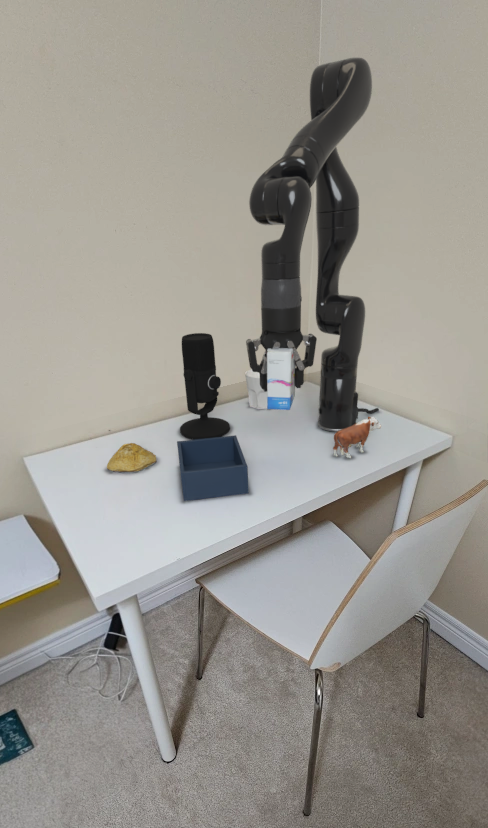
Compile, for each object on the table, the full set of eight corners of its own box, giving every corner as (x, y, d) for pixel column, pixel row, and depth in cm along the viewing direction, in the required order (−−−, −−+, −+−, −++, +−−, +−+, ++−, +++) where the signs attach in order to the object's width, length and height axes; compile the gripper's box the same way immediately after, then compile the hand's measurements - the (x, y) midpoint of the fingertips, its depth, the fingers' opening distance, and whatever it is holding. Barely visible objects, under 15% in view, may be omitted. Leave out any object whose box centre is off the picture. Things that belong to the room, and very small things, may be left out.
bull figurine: (381, 448, 116) (385, 417, 112) (338, 463, 110) (340, 430, 106) (369, 442, 119) (372, 412, 115) (326, 456, 114) (328, 424, 110)
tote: (237, 460, 113) (236, 435, 110) (248, 493, 100) (247, 465, 97) (180, 466, 112) (176, 441, 108) (183, 501, 98) (180, 473, 95)
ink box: (291, 410, 96) (291, 351, 90) (266, 410, 97) (265, 351, 91) (296, 396, 103) (296, 340, 97) (273, 395, 104) (272, 340, 98)
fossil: (122, 452, 105) (100, 440, 111) (121, 478, 107) (99, 465, 113) (164, 448, 113) (141, 437, 119) (162, 472, 115) (139, 460, 121)
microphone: (210, 444, 122) (202, 345, 109) (169, 434, 128) (157, 339, 116) (239, 425, 132) (235, 333, 119) (200, 417, 138) (192, 328, 125)
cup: (285, 403, 145) (285, 371, 140) (263, 413, 139) (262, 380, 134) (261, 396, 151) (260, 365, 146) (239, 405, 145) (237, 373, 140)
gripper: (312, 297, 94) (310, 380, 102) (240, 302, 92) (244, 386, 100) (323, 303, 87) (320, 391, 96) (246, 309, 86) (250, 398, 94)
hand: (281, 388), depth 98 cm, fingers closed on ink box, 6 cm apart
